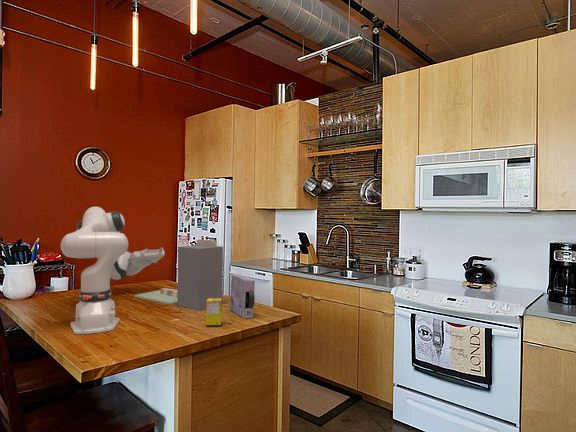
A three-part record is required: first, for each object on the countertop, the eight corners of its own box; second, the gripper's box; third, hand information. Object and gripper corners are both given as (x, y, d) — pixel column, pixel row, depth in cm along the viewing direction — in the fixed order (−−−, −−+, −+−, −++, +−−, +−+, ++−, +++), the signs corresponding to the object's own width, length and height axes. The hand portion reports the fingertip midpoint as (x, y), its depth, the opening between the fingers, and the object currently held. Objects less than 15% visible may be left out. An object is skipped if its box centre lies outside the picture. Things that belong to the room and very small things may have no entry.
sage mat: (134, 296, 218) (134, 294, 218) (161, 291, 233) (161, 289, 233) (170, 305, 200) (170, 303, 200) (197, 298, 214) (197, 297, 214)
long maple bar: (160, 288, 222) (164, 287, 224) (160, 293, 222) (164, 293, 224) (183, 293, 210) (187, 292, 212) (183, 298, 210) (187, 297, 212)
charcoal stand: (177, 305, 198) (177, 246, 198) (201, 300, 211) (201, 244, 211) (198, 310, 189) (199, 248, 189) (222, 304, 202) (222, 246, 202)
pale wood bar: (196, 245, 207) (196, 239, 207) (200, 245, 209) (200, 239, 209) (212, 246, 200) (212, 240, 200) (216, 246, 202) (216, 240, 202)
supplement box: (222, 322, 168) (222, 297, 168) (220, 327, 162) (220, 300, 162) (208, 322, 168) (208, 297, 168) (206, 327, 162) (206, 300, 162)
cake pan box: (255, 318, 176) (255, 279, 176) (245, 320, 173) (245, 280, 173) (239, 309, 192) (239, 273, 192) (229, 310, 190) (229, 274, 190)
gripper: (124, 256, 222) (136, 245, 215) (155, 253, 238) (167, 243, 231) (127, 266, 220) (140, 255, 213) (158, 262, 237) (171, 252, 229)
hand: (154, 249), depth 222 cm, fingers open, 8 cm apart
